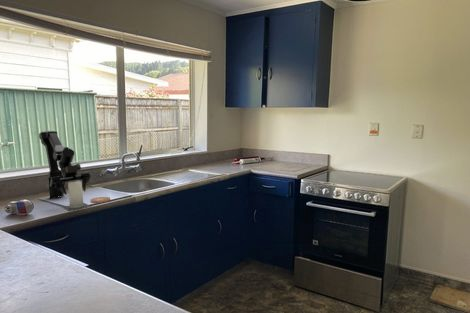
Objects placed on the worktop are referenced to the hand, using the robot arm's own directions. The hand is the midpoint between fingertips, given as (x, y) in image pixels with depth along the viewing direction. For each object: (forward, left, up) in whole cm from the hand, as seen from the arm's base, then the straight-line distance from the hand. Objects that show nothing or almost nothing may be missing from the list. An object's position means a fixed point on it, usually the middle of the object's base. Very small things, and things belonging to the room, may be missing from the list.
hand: (75, 192), depth 172 cm
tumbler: (0, 0, -7) cm, 8 cm away
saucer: (+10, +10, -8) cm, 16 cm away
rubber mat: (0, 0, -8) cm, 8 cm away
